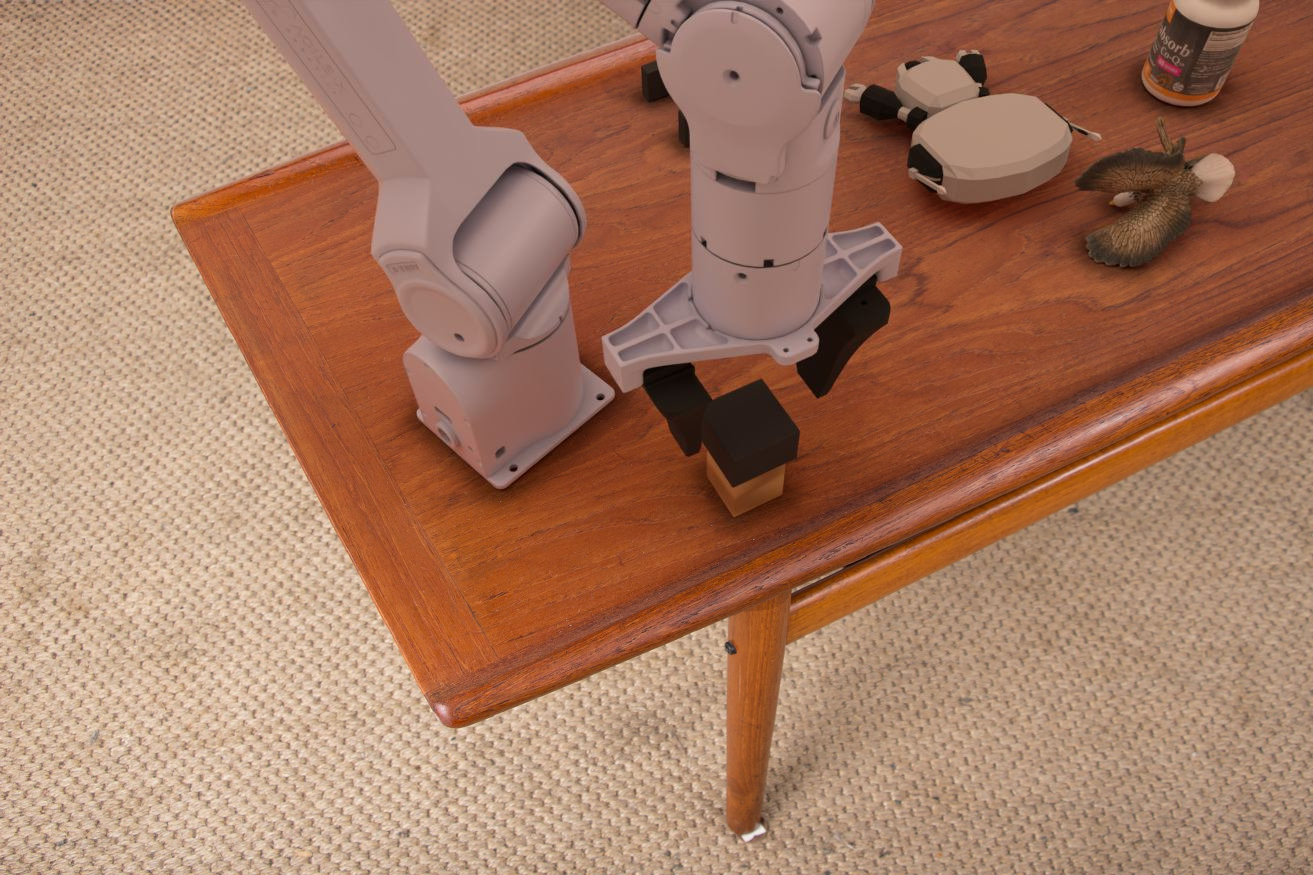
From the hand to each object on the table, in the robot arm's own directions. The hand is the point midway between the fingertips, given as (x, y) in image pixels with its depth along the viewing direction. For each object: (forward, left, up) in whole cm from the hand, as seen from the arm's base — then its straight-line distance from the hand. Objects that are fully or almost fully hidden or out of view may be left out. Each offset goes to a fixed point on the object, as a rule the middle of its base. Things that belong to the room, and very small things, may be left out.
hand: (749, 411), depth 56 cm
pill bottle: (+48, 0, -7) cm, 49 cm away
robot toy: (+31, +8, -7) cm, 33 cm away
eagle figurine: (+33, -5, -7) cm, 35 cm away
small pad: (0, 0, -3) cm, 3 cm away
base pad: (+24, +24, -7) cm, 35 cm away
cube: (0, 0, -7) cm, 7 cm away
